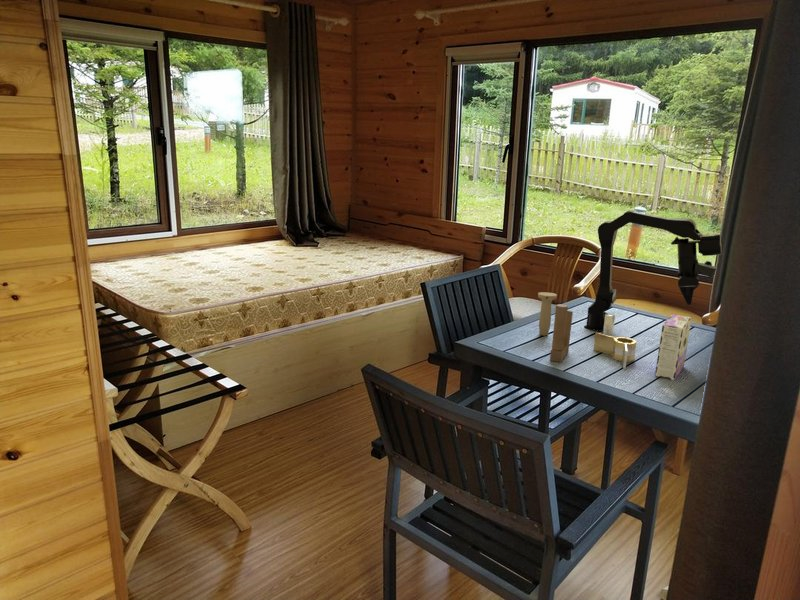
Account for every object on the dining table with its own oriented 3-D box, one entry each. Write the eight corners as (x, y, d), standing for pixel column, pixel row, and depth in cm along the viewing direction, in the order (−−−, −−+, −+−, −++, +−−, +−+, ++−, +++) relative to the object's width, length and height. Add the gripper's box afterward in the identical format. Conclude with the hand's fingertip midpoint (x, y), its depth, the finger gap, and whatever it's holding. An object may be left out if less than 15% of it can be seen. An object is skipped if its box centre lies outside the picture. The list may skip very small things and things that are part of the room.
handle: (534, 331, 218) (538, 291, 214) (553, 333, 217) (557, 293, 213) (534, 335, 214) (537, 294, 210) (552, 337, 212) (556, 296, 208)
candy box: (664, 362, 191) (672, 313, 187) (684, 367, 188) (692, 316, 183) (654, 376, 180) (661, 323, 176) (675, 381, 177) (683, 327, 172)
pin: (600, 342, 208) (603, 314, 206) (604, 340, 211) (608, 313, 208) (608, 344, 206) (612, 316, 204) (613, 342, 208) (616, 315, 206)
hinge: (579, 355, 195) (581, 338, 194) (598, 347, 203) (600, 330, 202) (624, 369, 184) (627, 351, 183) (643, 360, 192) (645, 342, 191)
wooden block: (568, 352, 198) (574, 299, 193) (561, 363, 189) (566, 307, 184) (557, 350, 199) (562, 298, 195) (549, 360, 190) (554, 306, 185)
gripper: (715, 259, 192) (717, 307, 195) (712, 250, 208) (714, 294, 211) (677, 261, 197) (679, 308, 199) (677, 253, 213) (679, 296, 216)
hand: (689, 301), depth 206 cm, fingers open, 9 cm apart
